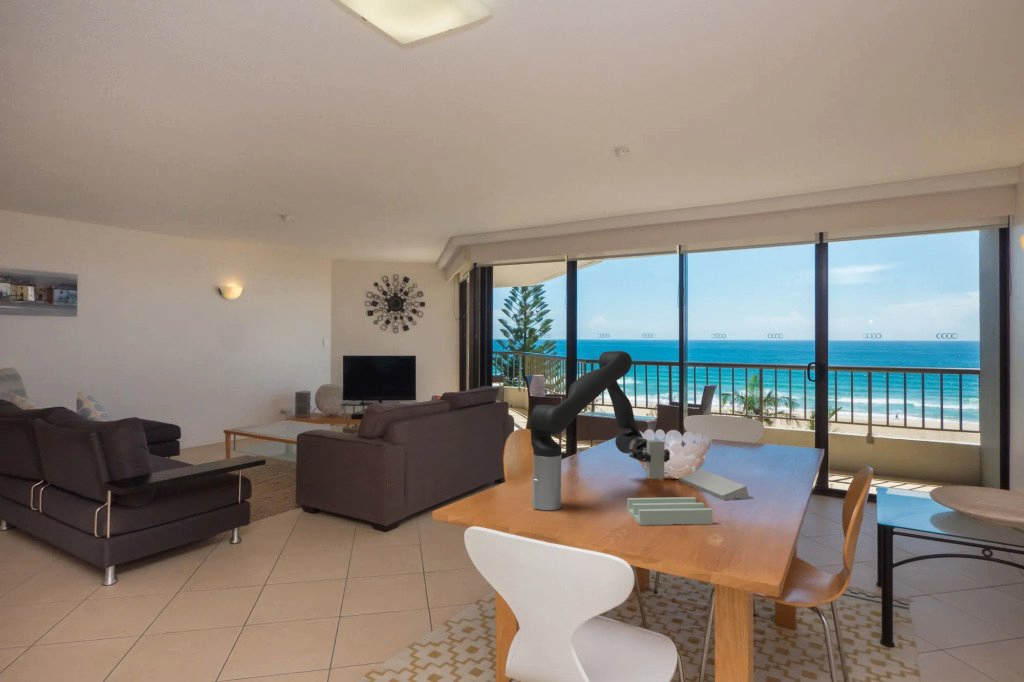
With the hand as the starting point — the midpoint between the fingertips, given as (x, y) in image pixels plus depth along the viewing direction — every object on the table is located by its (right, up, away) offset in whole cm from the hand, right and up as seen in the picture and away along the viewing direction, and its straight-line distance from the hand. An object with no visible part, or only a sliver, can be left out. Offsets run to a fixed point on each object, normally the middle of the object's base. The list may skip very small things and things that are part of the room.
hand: (658, 458), depth 181 cm
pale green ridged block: (+1, -16, -9) cm, 19 cm away
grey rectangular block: (0, -7, +3) cm, 7 cm away
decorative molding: (+25, -17, +27) cm, 41 cm away
